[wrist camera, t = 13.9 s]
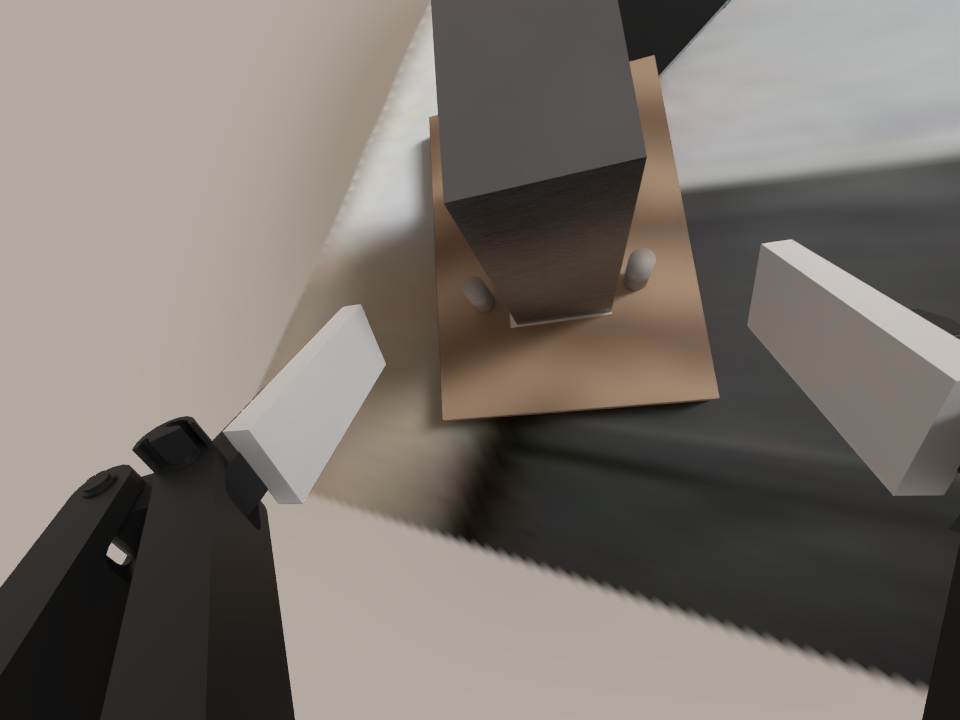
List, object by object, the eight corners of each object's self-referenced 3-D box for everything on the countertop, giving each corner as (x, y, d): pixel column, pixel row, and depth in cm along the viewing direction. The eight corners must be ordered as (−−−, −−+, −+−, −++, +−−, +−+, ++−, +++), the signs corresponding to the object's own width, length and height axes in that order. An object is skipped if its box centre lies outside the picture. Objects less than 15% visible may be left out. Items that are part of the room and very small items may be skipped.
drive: (611, 311, 20) (646, 156, 9) (515, 325, 22) (440, 204, 10) (586, 147, 22) (590, -150, 11) (500, 168, 24) (423, -80, 12)
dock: (709, 400, 20) (739, 392, 16) (451, 420, 23) (425, 418, 19) (650, 77, 24) (662, 10, 20) (437, 133, 27) (413, 85, 23)
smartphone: (530, 70, 26) (687, -106, 25) (532, 79, 27) (685, -93, 26) (617, 120, 24) (793, -72, 23) (616, 129, 24) (787, -58, 24)
